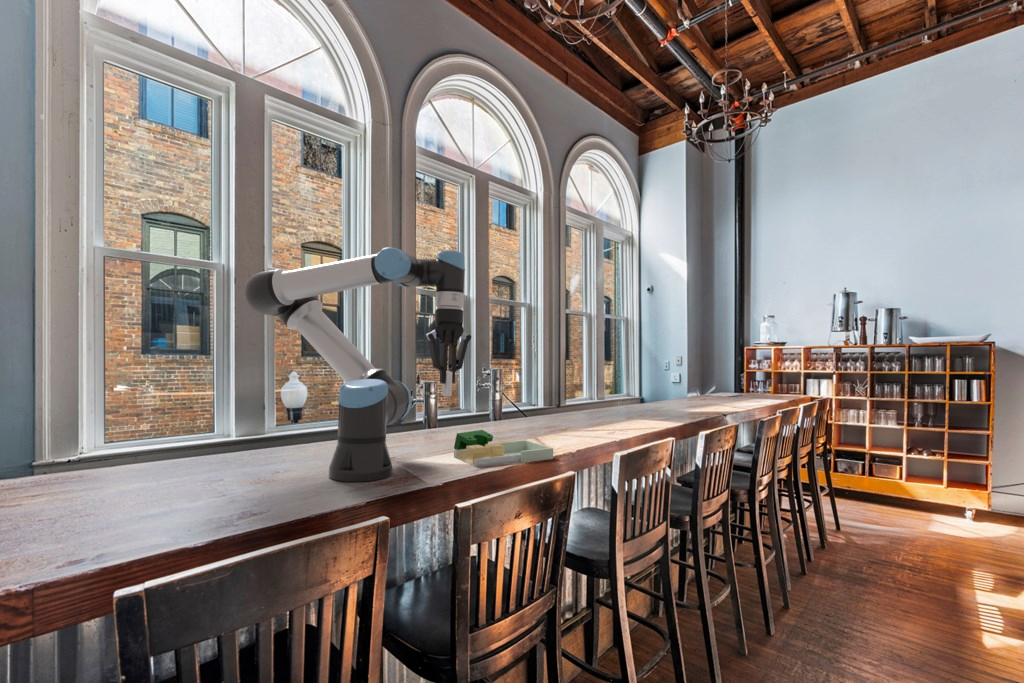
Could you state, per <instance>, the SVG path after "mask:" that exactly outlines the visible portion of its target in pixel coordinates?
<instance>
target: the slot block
mask: <svg viewBox="0 0 1024 683" xmlns="http://www.w3.org/2000/svg"><path fill="white" fill-rule="evenodd" d="M453 458H454V459H457V460H458V461H461V462H463V463H465V464H468V465H470V466H471V467H474V468H482V467H490V466H491V467H492V466H498V465H507V464H518V463H521V462H520V455H519V454H514V455H505V456H496V457H486V458H477V459H474V463H472V462H469V461H467V460H466V449H461V450H457V449H454V450H453Z"/></svg>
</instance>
